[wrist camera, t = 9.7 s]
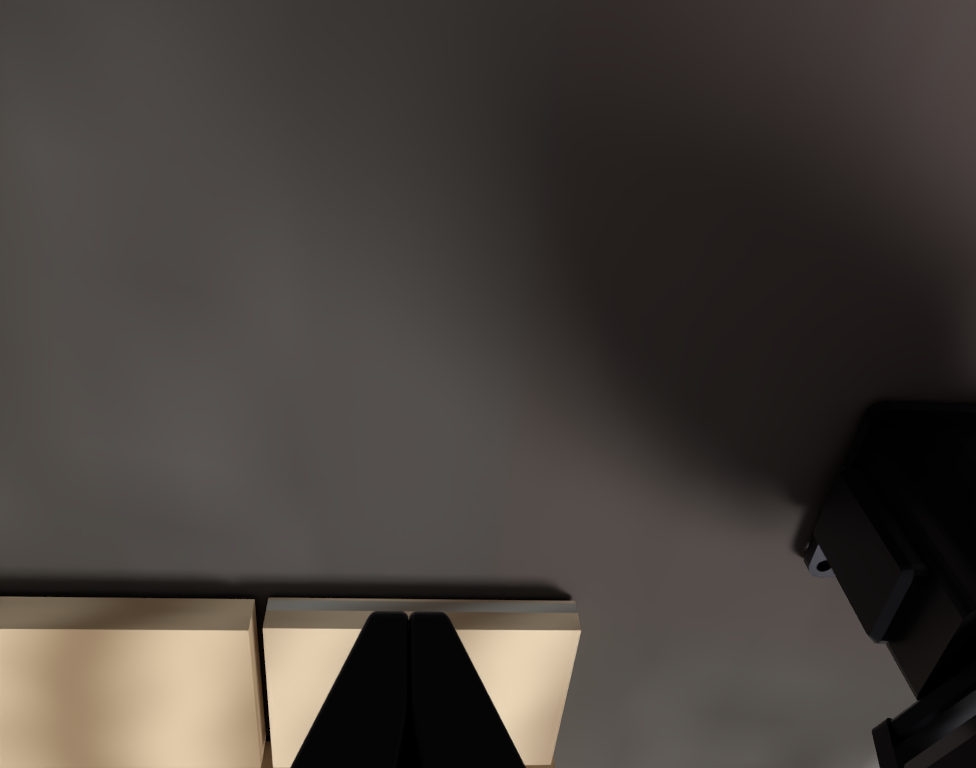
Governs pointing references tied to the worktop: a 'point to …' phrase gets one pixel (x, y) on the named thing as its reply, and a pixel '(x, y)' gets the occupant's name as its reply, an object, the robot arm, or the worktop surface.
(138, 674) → the plank
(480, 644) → the plank
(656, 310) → the worktop surface
